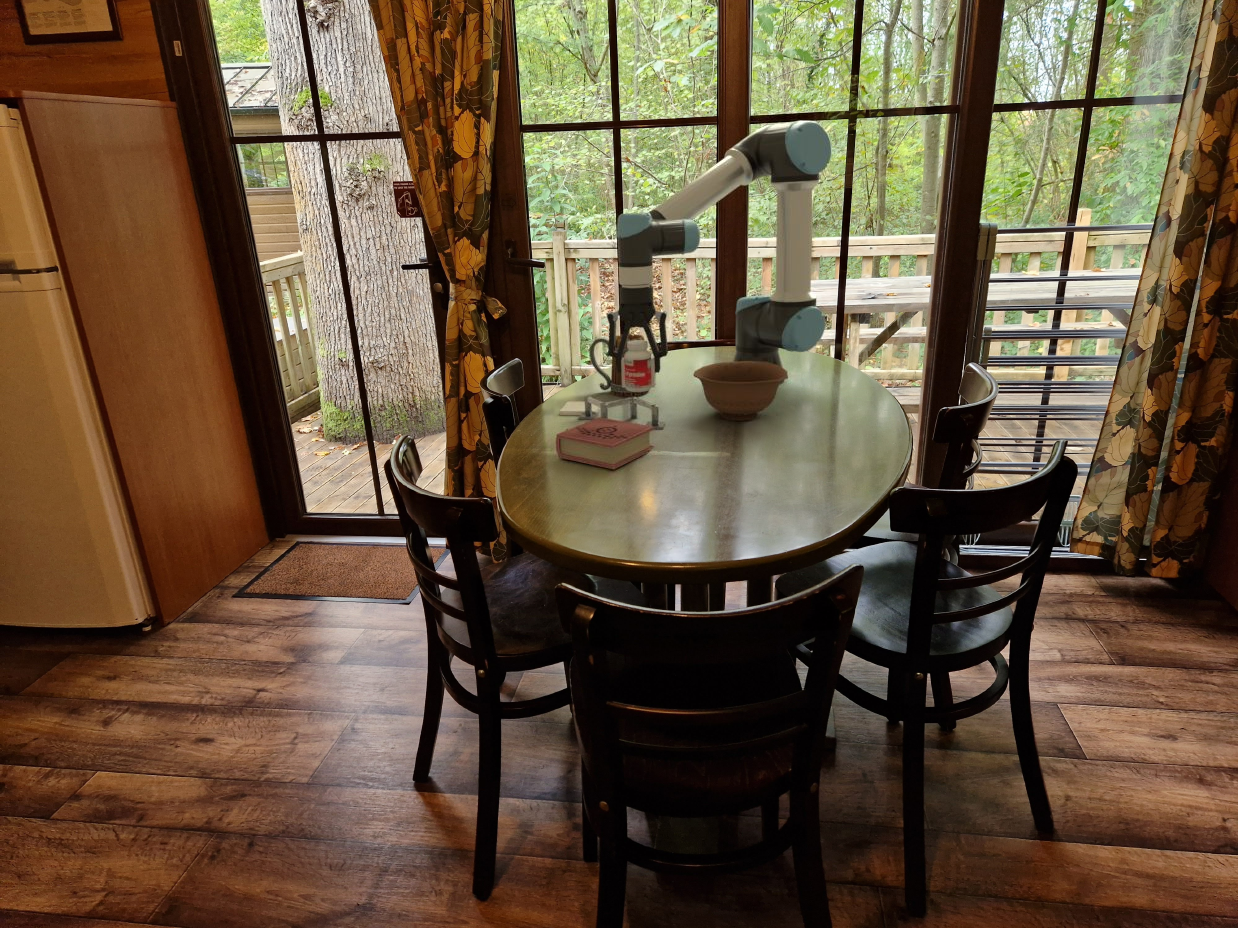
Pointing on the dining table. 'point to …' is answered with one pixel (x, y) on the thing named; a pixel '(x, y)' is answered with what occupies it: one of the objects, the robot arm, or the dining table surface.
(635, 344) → the pill bottle
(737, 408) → the bowl
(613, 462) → the book
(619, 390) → the mug
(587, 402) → the jointed bar linkage
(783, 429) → the dining table surface
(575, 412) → the pad
